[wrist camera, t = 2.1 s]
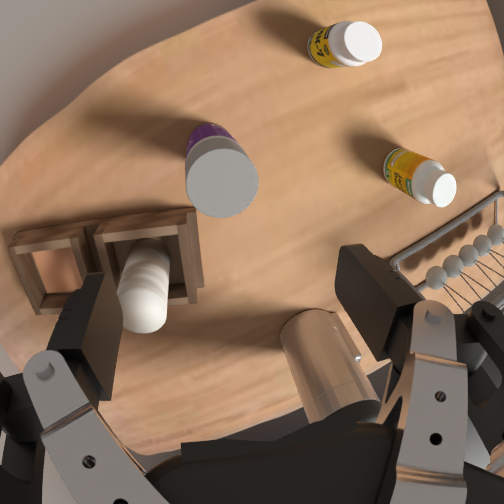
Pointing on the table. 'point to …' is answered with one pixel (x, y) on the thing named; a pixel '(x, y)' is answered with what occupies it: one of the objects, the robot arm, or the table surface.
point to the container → (218, 173)
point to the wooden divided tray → (115, 263)
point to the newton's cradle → (467, 254)
